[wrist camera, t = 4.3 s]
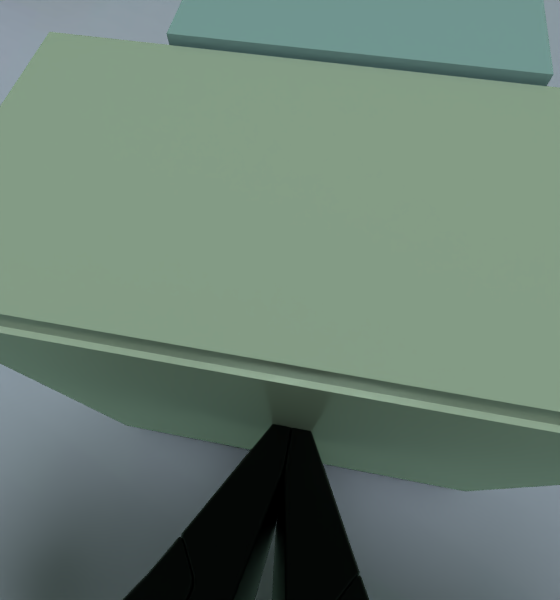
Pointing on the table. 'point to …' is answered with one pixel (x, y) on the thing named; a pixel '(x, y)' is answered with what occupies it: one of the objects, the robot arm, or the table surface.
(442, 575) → the table surface
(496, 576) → the table surface
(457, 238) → the green book
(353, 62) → the blue book
